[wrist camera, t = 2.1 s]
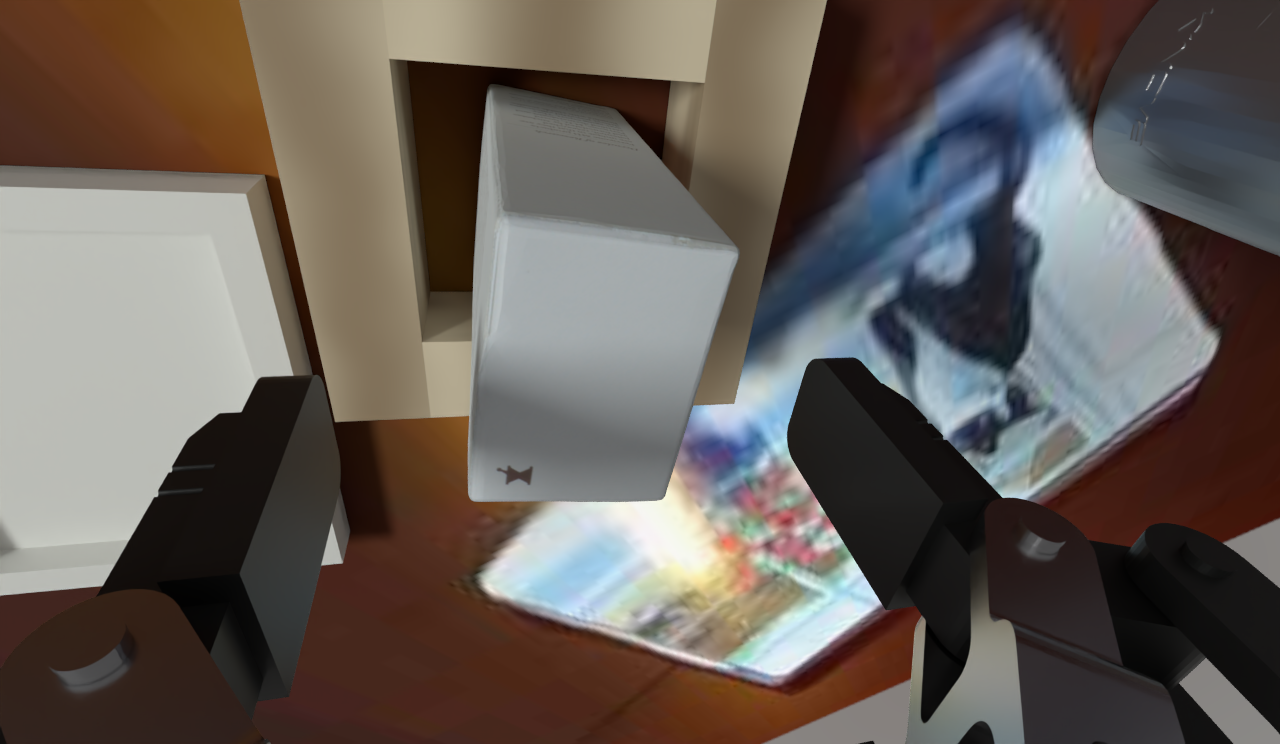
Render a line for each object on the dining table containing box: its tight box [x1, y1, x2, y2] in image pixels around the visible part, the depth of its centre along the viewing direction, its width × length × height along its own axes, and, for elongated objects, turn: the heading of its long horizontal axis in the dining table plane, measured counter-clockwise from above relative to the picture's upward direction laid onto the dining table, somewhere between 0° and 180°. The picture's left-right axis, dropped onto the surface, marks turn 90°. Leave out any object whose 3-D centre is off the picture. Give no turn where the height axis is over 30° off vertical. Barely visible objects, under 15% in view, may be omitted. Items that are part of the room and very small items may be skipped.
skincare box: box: [468, 84, 740, 502], centre depth 16 cm, size 6×4×12 cm
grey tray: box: [0, 165, 350, 595], centre depth 21 cm, size 14×16×2 cm
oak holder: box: [239, 0, 827, 422], centre depth 19 cm, size 14×14×4 cm
